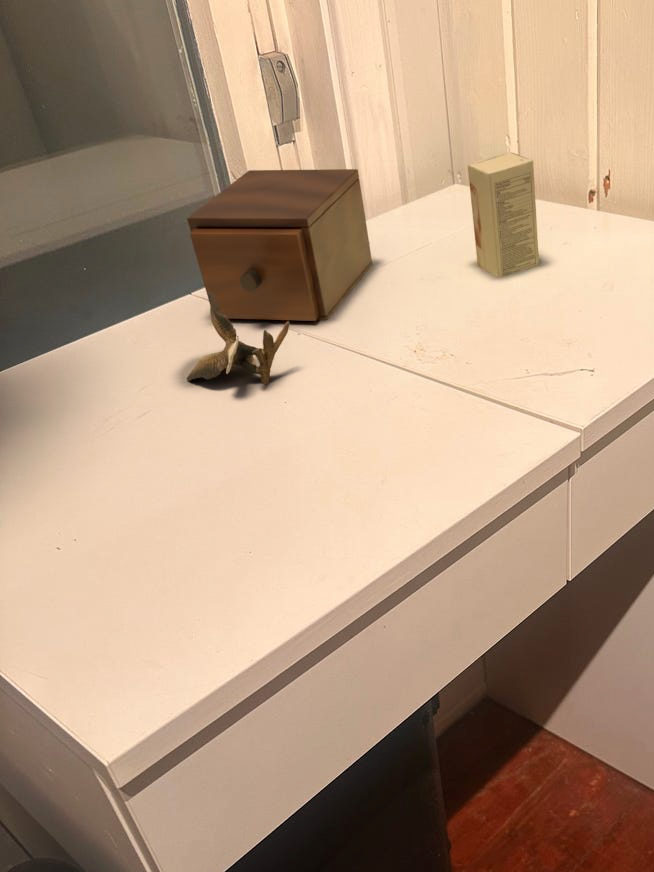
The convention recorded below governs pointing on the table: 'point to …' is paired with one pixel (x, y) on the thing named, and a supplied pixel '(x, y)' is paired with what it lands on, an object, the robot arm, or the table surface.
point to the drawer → (257, 272)
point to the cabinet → (303, 221)
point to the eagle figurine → (236, 350)
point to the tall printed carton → (504, 213)
